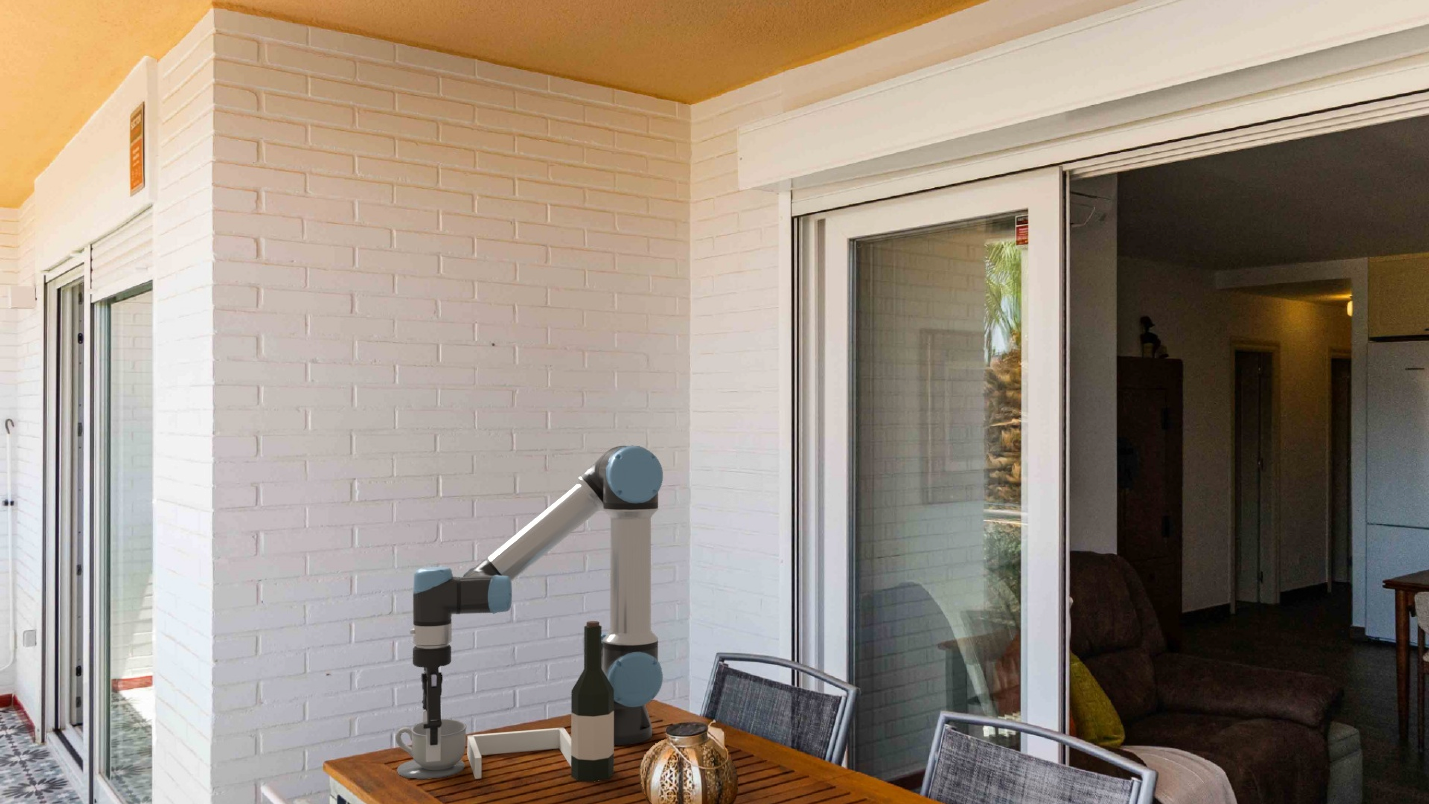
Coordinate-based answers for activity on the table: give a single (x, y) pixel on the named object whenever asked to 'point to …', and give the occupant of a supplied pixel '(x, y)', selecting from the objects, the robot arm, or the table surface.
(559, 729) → the white u-shaped frame
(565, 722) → the table surface
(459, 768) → the grey flat disc
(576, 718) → the wine bottle
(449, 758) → the teacup
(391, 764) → the table surface
